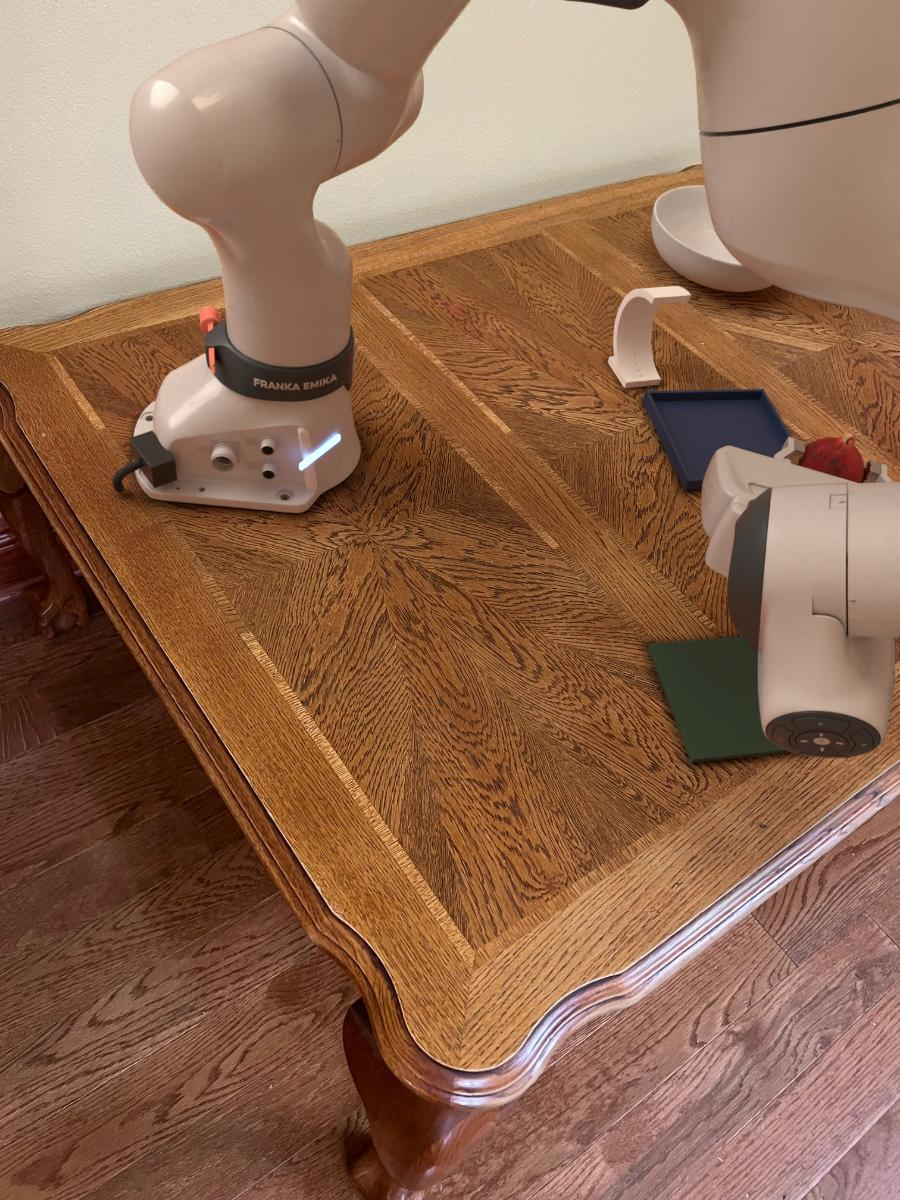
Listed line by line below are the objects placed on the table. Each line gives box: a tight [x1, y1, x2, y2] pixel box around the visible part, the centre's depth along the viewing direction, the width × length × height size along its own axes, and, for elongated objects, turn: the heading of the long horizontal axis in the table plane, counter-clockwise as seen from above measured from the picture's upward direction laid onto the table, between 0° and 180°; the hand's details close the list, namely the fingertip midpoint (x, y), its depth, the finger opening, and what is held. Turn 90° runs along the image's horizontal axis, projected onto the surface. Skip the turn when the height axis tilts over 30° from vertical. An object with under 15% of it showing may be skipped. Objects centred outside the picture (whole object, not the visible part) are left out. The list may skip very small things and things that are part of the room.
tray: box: [642, 388, 793, 492], centre depth 105 cm, size 15×15×2 cm
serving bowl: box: [650, 184, 774, 293], centre depth 127 cm, size 21×21×7 cm
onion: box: [798, 432, 865, 483], centre depth 79 cm, size 6×6×8 cm
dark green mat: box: [646, 635, 793, 764], centre depth 83 cm, size 12×12×1 cm
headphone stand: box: [607, 285, 692, 389], centre depth 107 cm, size 5×6×12 cm
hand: (832, 456), depth 79 cm, fingers closed on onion, 5 cm apart
